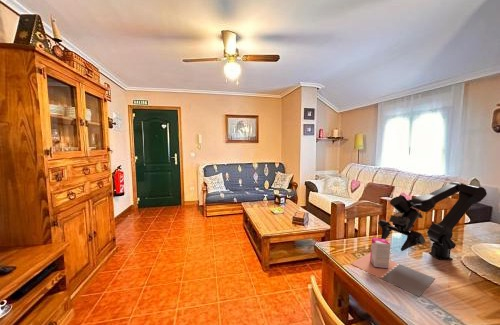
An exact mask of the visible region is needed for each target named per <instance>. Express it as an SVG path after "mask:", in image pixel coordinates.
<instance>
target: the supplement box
mask: <svg viewBox="0 0 500 325" xmlns="http://www.w3.org/2000/svg"><path fill="white" fill-rule="evenodd" d="M370 252H371V256H370V262H371V263H372V265H373V266H374V268H380V269H388V267H389V260H390V253H391V243H389V241H388V240H387V239H381V238H375V237H371V247H370Z"/></svg>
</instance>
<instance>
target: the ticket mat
mask: <svg viewBox="0 0 500 325" xmlns="http://www.w3.org/2000/svg"><path fill="white" fill-rule="evenodd" d="M370 256H371V251H370V252H367V253H366V254H364V255H363V256H361V257H359V258H358V259H356V260H354V261H352V262H351V263H350V264H351V265H352V266H354V267H356V268H358V269H361V270H362V271H364V272H367V273H369V274H370V275H372V276H375V277H377V278H379V279H382V280H383V281H385V282H387V283H390V284H391V285H394V286H396V287H398V288H400V289H402V290H403V291H406V292H408V293H410V294H413V295H414V296H417V297H419V298H420V296H421V295H422V294H423V293H424V292H425V291H426V290H427V289H428V288H429V286H430V285H431V284H432V283H433V282H434V281H435V280H436V278H435V277H433V276H430V275H428V274H425V273H423V272H421V271H417V270H415V269H414V268H413V269H412V268H411V267H408V266H406V265H403V264H400V263H398V262H396V261H393V260H390V259H389V267H388V269H380V268H374V266H373V265H372V263H371V262H370Z"/></svg>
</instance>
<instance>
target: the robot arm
mask: <svg viewBox="0 0 500 325" xmlns="http://www.w3.org/2000/svg"><path fill="white" fill-rule="evenodd" d="M456 194H458V199H457V201H456V202H455V203H454V205H453V206H451V209H449V211H448V212H447V213H446V215H445V216H444V218H443V219H442V220H441V221H440V222H438V223H435V222H432V223H431V225H430V226H429V227H427V229H428V230H427V232H426V233H427V237H428V238H429V241H430V242H432V245H431V249H430V250H431V251H429V253H428V254H430V255H431V256H433V257H434V258H436V259H437V260H439V261H440V260H442V261H443V260H444V261H445V260H446V261H448V260H449V261H453V257H451V251H452V249H453V250H454V249H455V248H456V245H457V244H456V243H455V242H454V241H453V240H452V238H453V232H454V231H453V229H454V228H455V227H456V226H457V224H458V223H459V222H460V221H461V220H462V218H463V217H464V215H465V214H466V213H467V212H468V210H469V209H470V208H471V206H473V205H475V204H478V203H480V202H481V201H482V200H484V199H485V197H487V195H488V194H487V190H486V188H485V187H483V186H478V185H473V184H465V183H462V182H458V181H450V182H449V183H448V184H446V185H444V186H442V187H440V188H438V189H437V190H434V191H432V192H430V193H429V194H422V195H418V196H415V197H413V198H411V199H407V198H406V197H405V196H404V195H402V194H400V195H399V196H395V197H393V198H392V199H391V200H390V201H389V204H390V206H391V207H392V208H394V209H395V210H396V211H397V212H398V213H399V214H401V215H398V216H396V215H393V214H391V215H390V217H389V220H388V221H386V220H384V219H380V220H379V221H378V222H377V224H378V226H379V227H380V228H381V235H380V236H381V238H380V239H385V240H387V238H388V237H389V236H390V235H391V232H392V231H393V232H396V233H399V234H401V235H405V236H406V240H405V241H404V243H403V244H402V246H401V248H400V252H404V251H405V250H407V249H409V248H412V247H413V246H417V245H418V246H420V245H422V246H423V245H424V244H425V243H426V239H425V237H424V236H423V234H422V233H421V232H419V231H416V230H414V227H415V225H414V224H415V223H416V221H417V219H423V218H424V217H423V215H422V212H423V213H428V212H429V211H430V210H432V209H434V208H435V207H436V204H438V203H440V202H441V201H442V202H443V200H445V199H447V198H449V197H452V196H453V195H456ZM419 211H421V212H419ZM390 222H391V223H392V224H391V223H390ZM411 229H413V230H411Z"/></svg>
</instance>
